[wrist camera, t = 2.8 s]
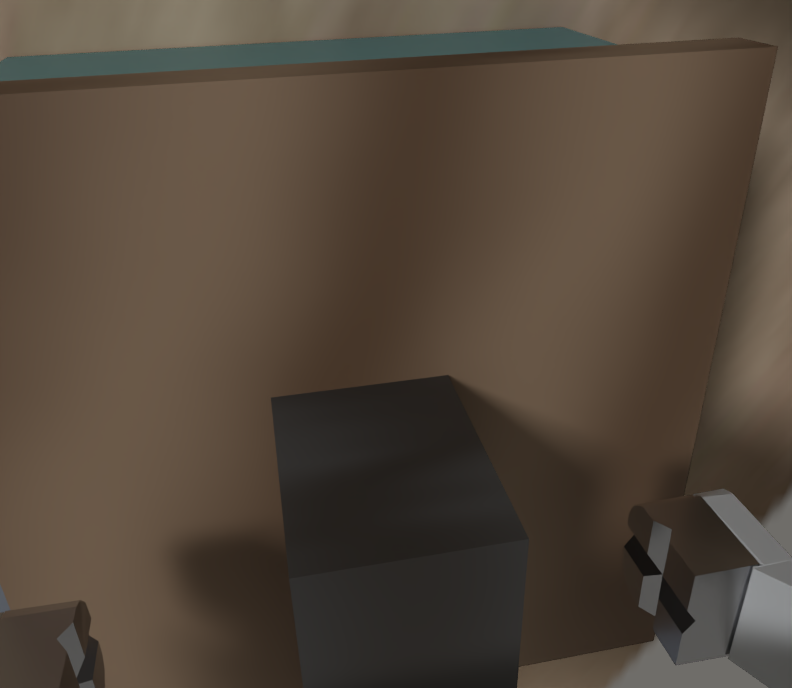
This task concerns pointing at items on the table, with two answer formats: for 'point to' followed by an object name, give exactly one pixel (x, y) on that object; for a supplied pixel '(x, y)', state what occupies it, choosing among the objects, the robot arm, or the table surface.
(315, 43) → the dish
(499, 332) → the lid
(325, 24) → the table surface
